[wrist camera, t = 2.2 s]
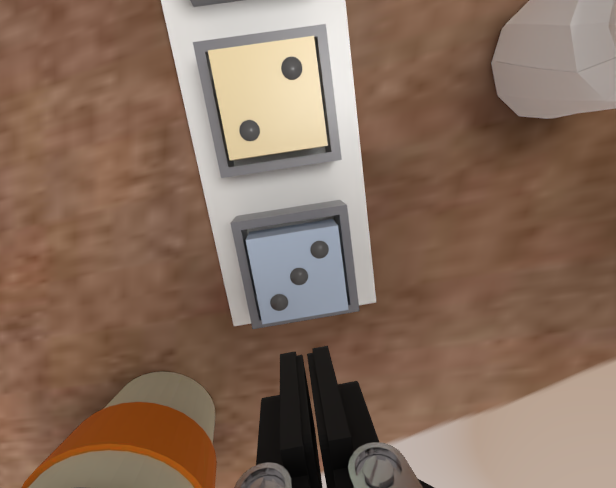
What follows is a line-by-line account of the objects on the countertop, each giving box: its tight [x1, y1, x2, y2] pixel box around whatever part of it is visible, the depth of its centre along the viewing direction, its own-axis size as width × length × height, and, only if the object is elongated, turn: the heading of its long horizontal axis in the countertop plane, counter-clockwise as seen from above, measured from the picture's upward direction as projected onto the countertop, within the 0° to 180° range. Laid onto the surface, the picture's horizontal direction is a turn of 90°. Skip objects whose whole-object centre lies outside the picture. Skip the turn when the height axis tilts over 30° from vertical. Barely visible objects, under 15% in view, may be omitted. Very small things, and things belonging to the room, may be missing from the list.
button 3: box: [246, 219, 349, 324], centre depth 23 cm, size 6×6×3 cm
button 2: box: [208, 36, 328, 160], centre depth 21 cm, size 6×6×3 cm
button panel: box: [161, 0, 376, 329], centre depth 23 cm, size 12×32×4 cm, turn 8°
